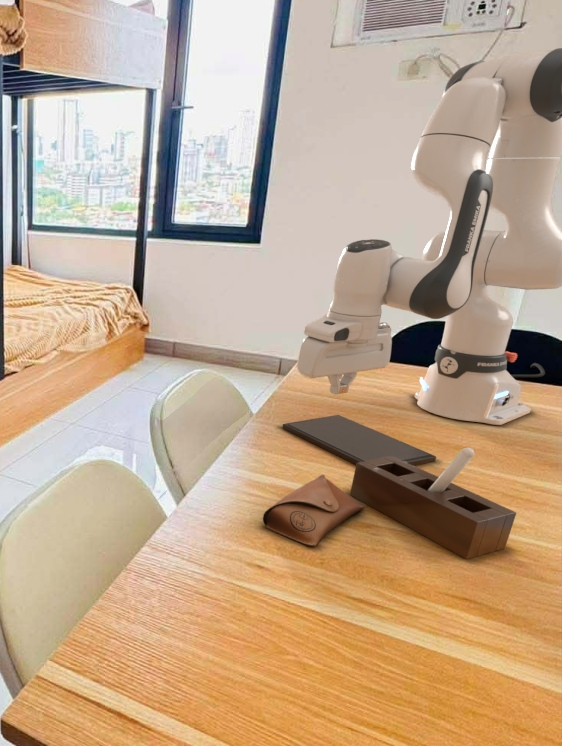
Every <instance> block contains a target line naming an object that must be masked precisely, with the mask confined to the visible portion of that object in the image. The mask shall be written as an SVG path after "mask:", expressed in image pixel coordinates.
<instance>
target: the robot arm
mask: <svg viewBox="0 0 562 746" xmlns="http://www.w3.org/2000/svg"><path fill="white" fill-rule="evenodd" d="M441 96H442V97H441V98H440V100H439V101H438V103H437V105H436V106H435V108H434V110H433V111H432V113H431V115H430V117H429V119H428V121H427V123H426V125H425V127H424V129H423V131H422V133H421V136H420V138H419V140H418V142H417V145H416V146H415V149H414V152H413V153H412V158H411V163H410V171H411V174H412V177H413V179H414V181H415V182H416V183H417V184H418V185H419V187H421V188H422V189H424V190H425V191H427V192H428V193H431V194H432V195H435V196H436V197H438V198H440V199H441V200H443V201H444V202H445V203H446V204H447V206H448V208H449V219H448V223H447V227H446V230H444V231H440V232H438V233H436V234H435V235H434V236H432V237H431V238H430V240H428V241H427V243H426V245H425V247H424V248H423V251H422V254H421V259H420V258H413V257H409V256H404V254H400V253H398V252H397V251H396V250H394V249H393V247H392V244H391V242H389V241H387V240H384V239H378V238H377V239H371V238H370V239H361V240H356V241H352V242H350V243H348V244H347V245H345V247H344V248H343V250H342V253H341V255H340V257H339V259H338V262H337V266H336V269H335V274H334V279H333V284H332V291H333V298H332V301H331V303H330V304H329V306H328V311H327V313H326V314H324V315H323V316H321V317H319V318H318V319H315V320H313V321H312V322H309V323H307V324H306V325H305V326H304V329H303V334H304V336H307V337H305V338H304V339H303V341H302V343H301V345H300V349H299V353H298V358H297V367H296V368H297V371H298V373H299V374H300V375H302V376H304V377H307V378H309V379H317V378H324V377H327V379H328V381H329V384H330V387H329V392H330V394H333V395H342V394H347V393H349V389H350V385H351V384H352V383H353V382H354V380H355V379H356V377H357V374H358V373H360V372H366V371H373V370H381V369H385V368H387V366H388V365H389V364H390V362H391V361H390V360H391V356H392V348H393V347H392V345H393V338H392V327H391V325H390V324H388V323H387V322H381V318H382V314H383V312H382V311H383V310H382V305H383V306H386V307H390V308H392V309H393V308H394V309H398V310H401V311H406V312H411V313H414V314H416V315H420V316H422V317H425V318H429V319H432V320H440V319H444V318H445V323H444V329H443V333H442V339H441V342H440V343H439V344H438V346H437V349H436V350H435V355H434V361H435V362H434V363H433V364H430V365H429V366H428V369H427V371H426V374H425V376H424V378H423V376H420V377H419V383H420V385H421V387H420V391H416V392H415V393H414V396H413V397H414V398H415V400H417V402H416V404H417V406H418V407H419V408H421V409H422V410H424V411H426V412H429V413H431V414H433V415H437V416H440V417H444V418H449V419H452V420H457V421H465V422H477V423H484V424H488V425H494V426H502V425H504V424H506V423H509V422H511V421H514V420H516V419H519V418H521V417H523V416H525V415H528V414H530V413H531V410H532V409H531V407H529V406H528V405H526V404H524V403H522V402H520V398H521V394H522V385H521V384H520V383H519V382H518V381H517V380H516V379H537V378H542V377H544V376H545V374H546V371H545V369H544V367H543V366H542V365H541V364H539V363H536V362H534V363H532V364H531V365H530V368H532V369H534V368H537V369H538V370H539V371H540V373H538V374H537V373H536V374H510V372H509V371H508V370H507V368H508V367H507V366H508V362H510V363H515V362H516V360H517V358H518V353H516V352H510V351H508V350H506V349H507V347H508V343H509V339H510V335H511V332H512V329H513V325H514V319H513V315H512V313H511V312H510V310H508V309H507V308H506V307H505V306H503V305H501V304H500V303H498V302H496V301H495V300H493V299H492V298H491V297H490V295H489V293H488V289H487V287H489V286H492V287H501V288H509V289H519V290H527V291H530V290H533V291H534V290H553V289H558V288H561V287H562V228H561V226H560V225H559V223H558V221H557V220H556V217H555V213H554V210H553V204H552V203H553V201H552V200H553V193H554V187H555V181H556V179H557V174H558V169H559V165H560V162H561V158H562V47H559V48H555V49H551V50H535V51H534V50H533V51H525V52H516V53H514V54H511V55H506V56H500V57H496V58H492V59H489V60H478V61H476V62H472V63H469V64H467V65H464V66H463V67H460V68H459V69H458V70H456V71H455V72H454V74H452V75H451V77H450V78H449V79H448V81H447V82H446V84H445V86H444V89H443V92H442V95H441ZM489 211H491V212H494V213H496V214H497V215H499V216H501V217H502V218H503V220H504V222H505V225H506V229H505V230H488V229H485V226H486V223H487V220H488V215H489Z"/></svg>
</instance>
